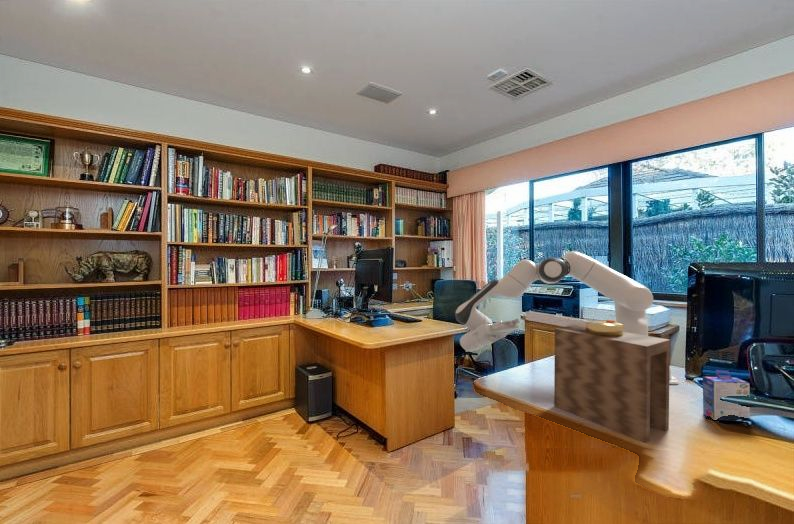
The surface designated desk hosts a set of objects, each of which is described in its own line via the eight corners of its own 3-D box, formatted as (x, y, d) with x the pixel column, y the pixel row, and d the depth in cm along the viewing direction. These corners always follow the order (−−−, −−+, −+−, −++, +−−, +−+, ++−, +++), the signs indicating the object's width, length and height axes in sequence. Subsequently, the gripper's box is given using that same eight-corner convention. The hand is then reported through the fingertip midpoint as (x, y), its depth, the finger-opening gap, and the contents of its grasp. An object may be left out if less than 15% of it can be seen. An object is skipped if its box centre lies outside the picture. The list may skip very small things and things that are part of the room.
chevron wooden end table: (554, 406, 117) (554, 328, 116) (578, 397, 124) (578, 324, 124) (646, 442, 94) (647, 346, 94) (668, 429, 101) (669, 339, 101)
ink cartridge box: (736, 415, 110) (736, 369, 110) (751, 423, 105) (752, 375, 104) (701, 413, 112) (701, 368, 111) (714, 421, 106) (714, 374, 106)
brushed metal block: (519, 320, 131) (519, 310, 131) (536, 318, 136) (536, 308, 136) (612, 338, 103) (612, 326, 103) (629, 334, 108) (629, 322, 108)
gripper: (467, 328, 147) (488, 316, 136) (500, 324, 158) (523, 312, 147) (472, 343, 144) (495, 332, 134) (506, 337, 155) (529, 326, 145)
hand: (510, 321), depth 141 cm, fingers open, 8 cm apart
